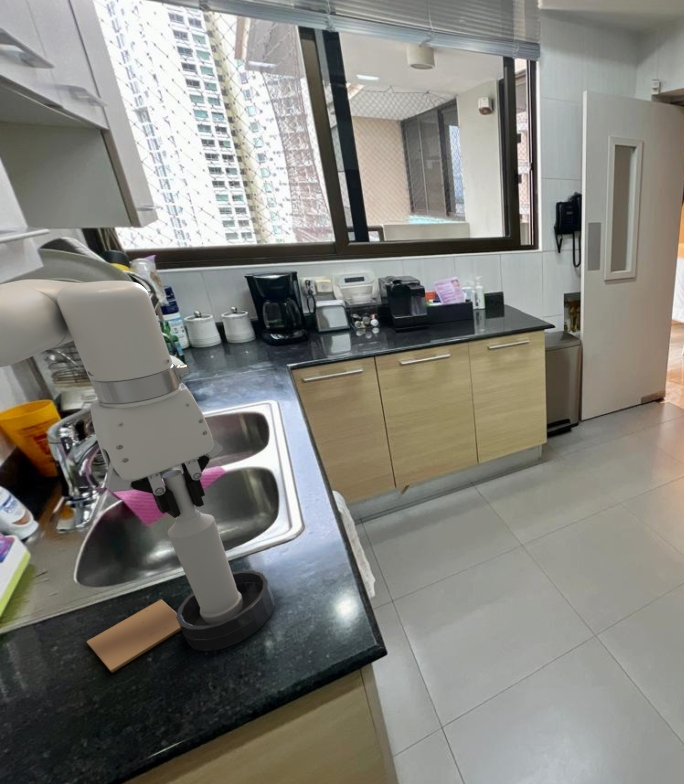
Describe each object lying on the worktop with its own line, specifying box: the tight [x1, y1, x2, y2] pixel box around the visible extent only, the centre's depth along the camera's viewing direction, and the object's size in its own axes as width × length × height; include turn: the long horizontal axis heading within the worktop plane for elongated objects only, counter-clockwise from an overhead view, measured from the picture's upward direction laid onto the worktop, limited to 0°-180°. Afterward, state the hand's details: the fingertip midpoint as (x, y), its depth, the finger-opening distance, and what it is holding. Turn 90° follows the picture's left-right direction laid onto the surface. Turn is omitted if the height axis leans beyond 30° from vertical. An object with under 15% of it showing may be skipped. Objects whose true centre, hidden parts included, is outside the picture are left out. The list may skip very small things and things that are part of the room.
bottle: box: [161, 469, 243, 624], centre depth 67 cm, size 5×5×25 cm
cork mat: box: [86, 599, 182, 673], centre depth 70 cm, size 9×9×1 cm
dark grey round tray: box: [176, 569, 276, 652], centre depth 72 cm, size 11×11×4 cm
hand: (184, 507), depth 64 cm, fingers closed on bottle, 2 cm apart
